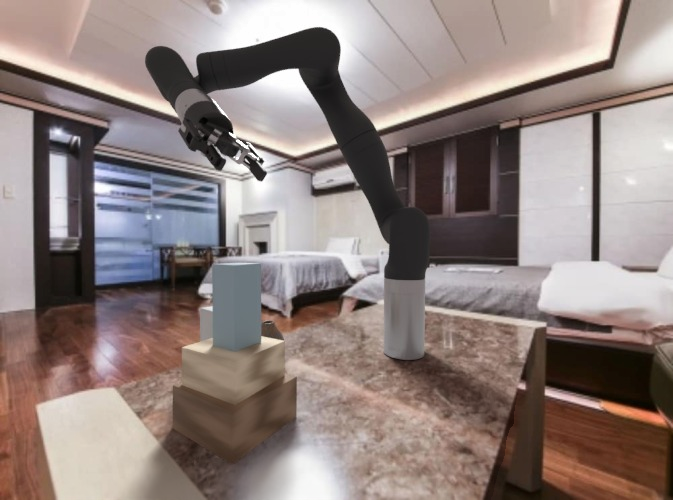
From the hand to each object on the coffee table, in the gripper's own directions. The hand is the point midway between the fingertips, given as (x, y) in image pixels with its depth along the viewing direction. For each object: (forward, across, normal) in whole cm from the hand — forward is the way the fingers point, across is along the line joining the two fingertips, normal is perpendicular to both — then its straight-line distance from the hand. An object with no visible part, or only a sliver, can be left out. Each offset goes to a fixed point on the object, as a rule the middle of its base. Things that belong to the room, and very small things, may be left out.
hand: (244, 172), depth 49 cm
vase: (+23, +10, +29) cm, 38 cm away
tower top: (+26, -7, +17) cm, 32 cm away
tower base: (+31, -7, +21) cm, 38 cm away
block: (+23, -6, +14) cm, 28 cm away
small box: (+22, +2, +31) cm, 38 cm away
